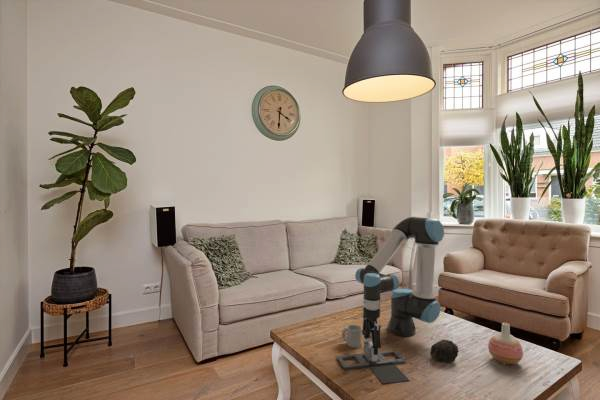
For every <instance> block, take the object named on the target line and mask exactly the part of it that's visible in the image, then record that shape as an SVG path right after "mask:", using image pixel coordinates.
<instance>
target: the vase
mask: <svg viewBox="0 0 600 400" xmlns="http://www.w3.org/2000/svg"><path fill="white" fill-rule="evenodd" d="M510 330H511V325H510V323H507V322H502V323H501V331H500V332H497V333H495V334H493V335H492V336H491V337H490V339H489V341H488V344H487V348H488V351H489V354H490V355H491V356H492V357H493V358H494V359H495V360H496V362H498V361H499V362H498V363H500V362H502V363H505V364H513V365H515V364H518V363H519V362H520V361H521V360H522V359H523V356H524V351H523V347H522V344H521V343H520V341H519V340H518V339H517V338H516V337H515V336H514V335H512V334H511V331H510ZM502 363H501V364H502ZM505 364H504V365H505Z"/></svg>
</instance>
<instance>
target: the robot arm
mask: <svg viewBox="0 0 600 400" xmlns="http://www.w3.org/2000/svg"><path fill="white" fill-rule="evenodd" d="M444 235H445V231H444V225H443V224H442V222H441V221H440V220H439V219H436V218H433V217H432V218H431V217H419V216H410V217H407V218H404V219H403V220H401V221H400V222H398V224H396V225H395V227H393V228H392V230H391V234H390V236H389V237H388V238H387V239H386V241H385V242H384V243H383V244H382V246H381V247H379V249H378V251H377V252H376V253H375V254H374V255H373V257H372V258H371V259H370V261H369V262H368V263H367V264H366V266H365V267H361V268H358V269H356V271H355V274H354V276H355V280H356V281H357V282H358V283H359V284H362V285H363V301H362V303H363V309H362V316H363V317H362V319H363V321H362V323H363V324H362V331H361V335H362V336H363V337H364V342H369V341H372V344H373V346H371V347H372V362H373V361H378V352H379V350H378V348H379V349H380V348H382V343H381V329H382V328H381V325H380V324H378V318H380V317H381V294H383V293H386V292H387V293H388V292H391V296H390V318H389V321H388V323H387V331H389V332H390V333H391V334H394V335H396V336H401V337H410V336H414V335H415V334H416V333H417V331H416V330H417V329H416V328H417V327H416V325H415V322H414V319H417V320H420V321H421V322H425V323H428V324H432V323H434V322H435V321H437V319H438V318H439V316H440V313H441V304H440V303H439V302H438V301H437V295H436V294H435V293H434V280H435V258H436V248H437V246H439V243H440V242H441V241H442V240H443V238H444ZM410 239H414V243H415V245H417V252H416V253H417V255H416V278H415V291H413V290H412V289H410V288H399V285H400V281H399V278H398V277H397V276H396V275H395V274H392V273H390V274H389V273H388V274H383V273H382V271H383V270H384V268H385V267H386V266H387V265H388V263H389V262H390V261H391V259H392V258H393V257H394V255H395V254H396V252H397V251H398V250H399V249H400V247H402V245H403V244H404V243H407V242H408V240H410ZM413 318H414V319H413Z"/></svg>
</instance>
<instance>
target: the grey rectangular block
mask: <svg viewBox="0 0 600 400" xmlns="http://www.w3.org/2000/svg"><path fill="white" fill-rule="evenodd" d="M371 346H373V344H372V340H371V341H369V342H365V341H364V342H363V353H364V359H365V360H366V362H367V363H368V362H372V347H371ZM379 349H380V348H378V351H379ZM373 362H377V361H373Z"/></svg>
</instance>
